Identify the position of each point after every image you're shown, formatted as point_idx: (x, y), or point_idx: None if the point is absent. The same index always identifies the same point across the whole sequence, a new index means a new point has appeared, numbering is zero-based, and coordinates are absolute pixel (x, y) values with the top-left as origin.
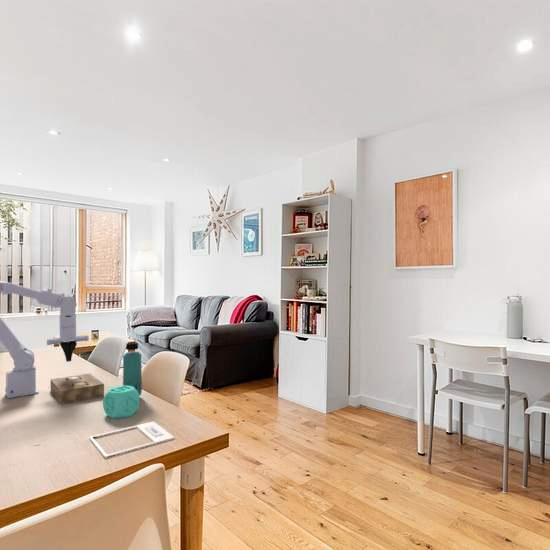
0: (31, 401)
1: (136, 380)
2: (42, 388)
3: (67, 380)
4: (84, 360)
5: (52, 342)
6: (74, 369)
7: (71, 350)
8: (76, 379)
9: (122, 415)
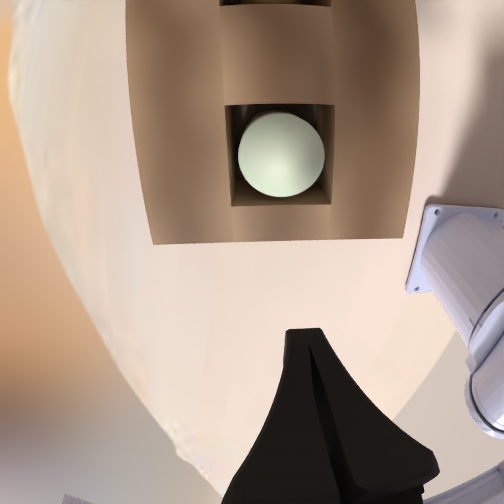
0: (470, 95)
1: None
2: (383, 278)
3: (310, 198)
4: (184, 459)
5: (487, 489)
6: (214, 426)
7: (298, 420)
8: (267, 116)
9: None
